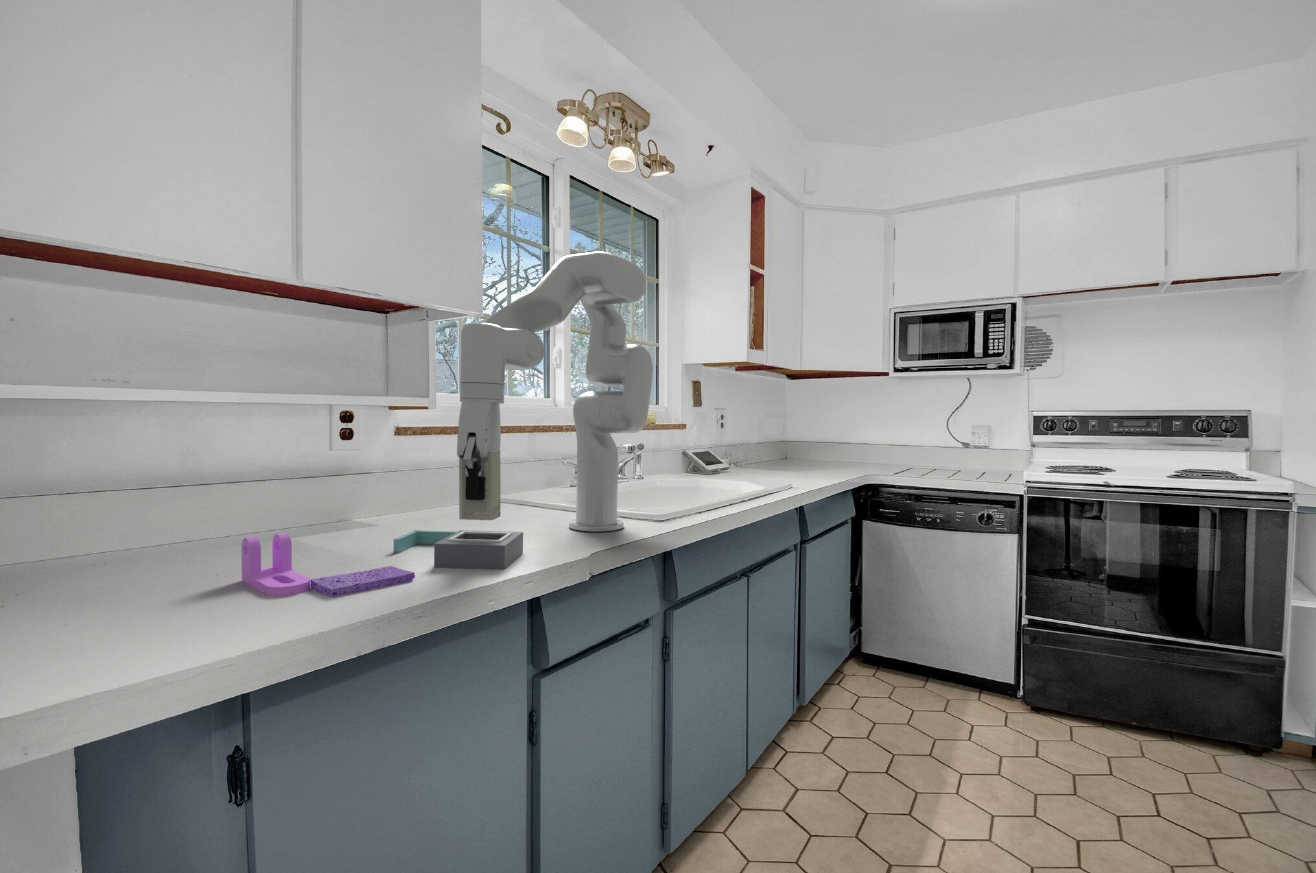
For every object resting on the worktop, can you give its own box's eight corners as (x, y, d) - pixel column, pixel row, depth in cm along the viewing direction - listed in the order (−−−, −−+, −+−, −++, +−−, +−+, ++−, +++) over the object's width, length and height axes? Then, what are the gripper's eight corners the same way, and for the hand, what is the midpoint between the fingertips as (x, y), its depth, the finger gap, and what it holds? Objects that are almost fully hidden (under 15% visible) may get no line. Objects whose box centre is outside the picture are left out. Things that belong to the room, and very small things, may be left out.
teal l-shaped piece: (414, 542, 122) (414, 530, 122) (469, 544, 121) (469, 531, 121) (393, 552, 113) (393, 539, 113) (452, 554, 112) (452, 540, 112)
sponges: (309, 591, 89) (309, 579, 89) (392, 575, 99) (392, 563, 99) (331, 601, 85) (331, 588, 85) (415, 583, 95) (415, 571, 95)
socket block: (459, 551, 115) (460, 528, 115) (523, 553, 114) (523, 530, 114) (434, 567, 103) (434, 541, 103) (504, 569, 102) (504, 543, 102)
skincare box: (500, 517, 110) (502, 450, 110) (491, 521, 105) (493, 451, 105) (467, 516, 111) (468, 449, 110) (456, 519, 106) (458, 450, 106)
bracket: (241, 581, 93) (241, 536, 92) (282, 574, 97) (282, 531, 97) (273, 599, 84) (273, 549, 84) (316, 590, 89) (316, 543, 89)
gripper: (477, 396, 116) (475, 492, 117) (442, 391, 99) (440, 503, 100) (516, 397, 116) (514, 493, 116) (488, 392, 99) (485, 504, 99)
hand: (480, 496), depth 108 cm, fingers closed on skincare box, 4 cm apart
